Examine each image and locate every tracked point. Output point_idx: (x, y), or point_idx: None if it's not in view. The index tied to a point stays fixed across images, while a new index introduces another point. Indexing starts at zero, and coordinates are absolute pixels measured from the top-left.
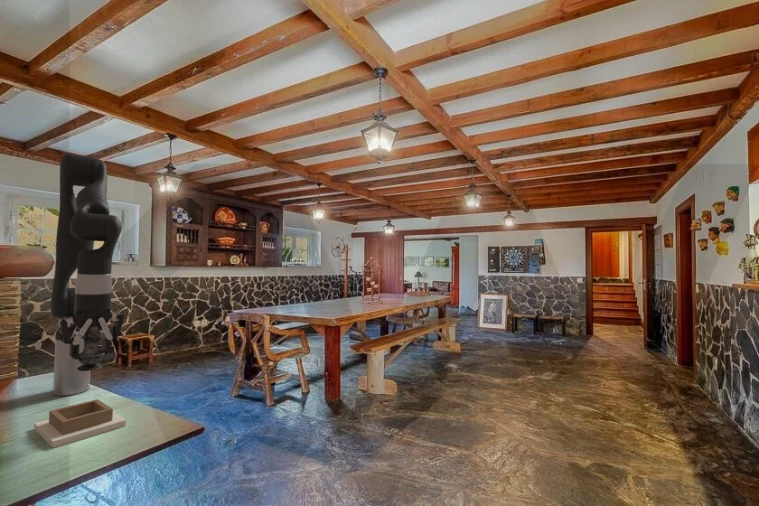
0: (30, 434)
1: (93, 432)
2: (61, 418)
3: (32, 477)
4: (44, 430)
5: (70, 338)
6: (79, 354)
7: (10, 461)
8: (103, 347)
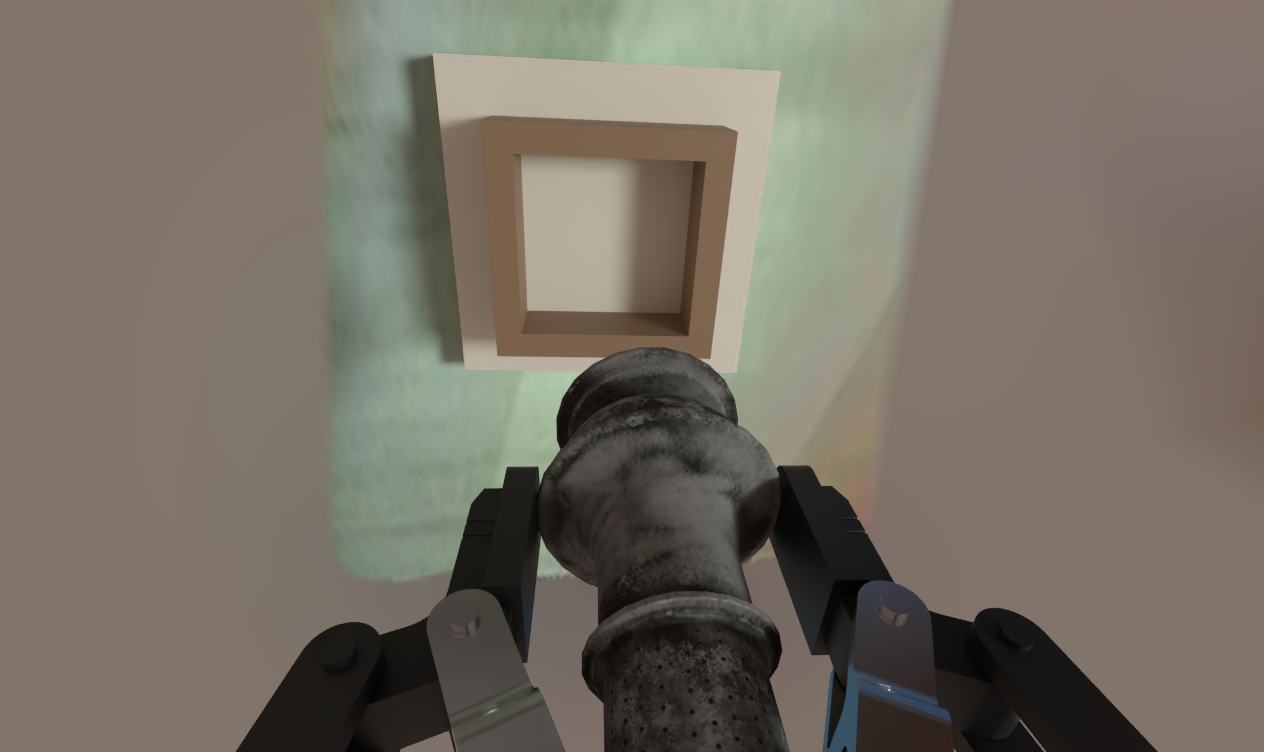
0: (419, 123)
1: None
2: (503, 302)
3: (392, 509)
4: (457, 218)
5: (418, 708)
6: (562, 503)
7: (340, 357)
8: (794, 528)
